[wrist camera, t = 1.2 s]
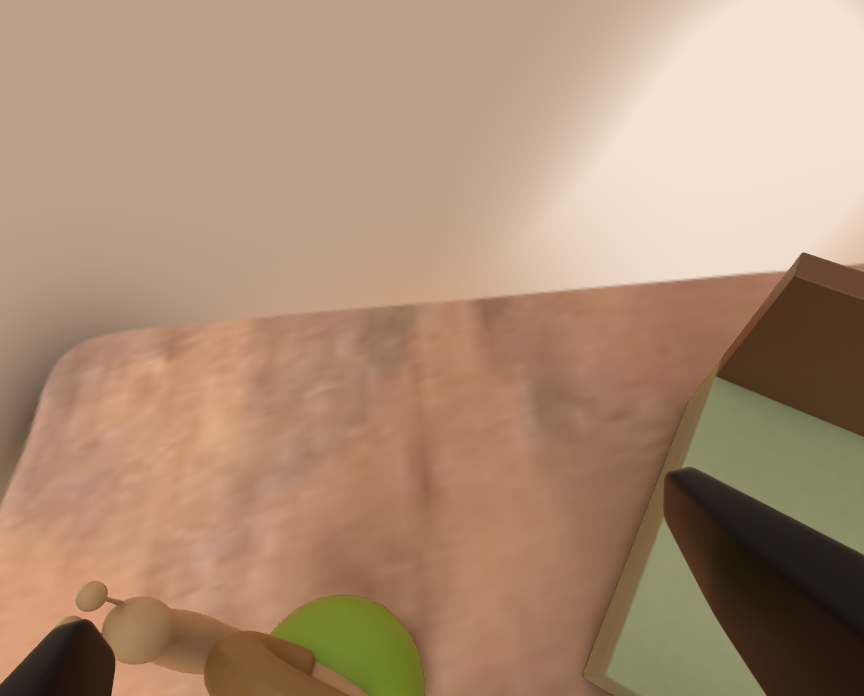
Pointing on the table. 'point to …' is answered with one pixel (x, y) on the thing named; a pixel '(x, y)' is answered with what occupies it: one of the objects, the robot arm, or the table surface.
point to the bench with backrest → (748, 478)
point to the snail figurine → (268, 647)
